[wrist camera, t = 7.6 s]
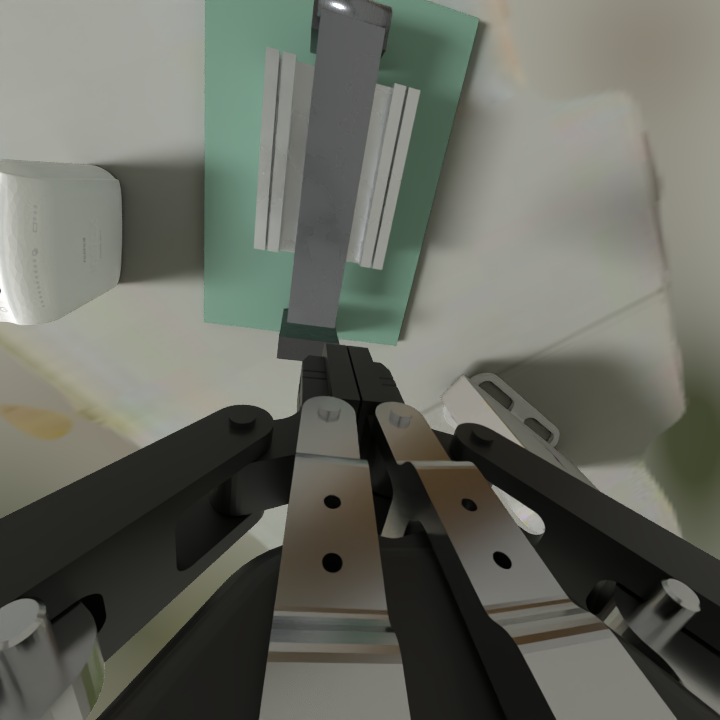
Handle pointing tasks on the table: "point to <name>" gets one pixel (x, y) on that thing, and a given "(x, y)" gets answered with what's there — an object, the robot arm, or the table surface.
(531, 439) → the network device
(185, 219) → the table surface
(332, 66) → the grey flat bar
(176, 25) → the table surface
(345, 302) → the mainboard
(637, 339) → the table surface
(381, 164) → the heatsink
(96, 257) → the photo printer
